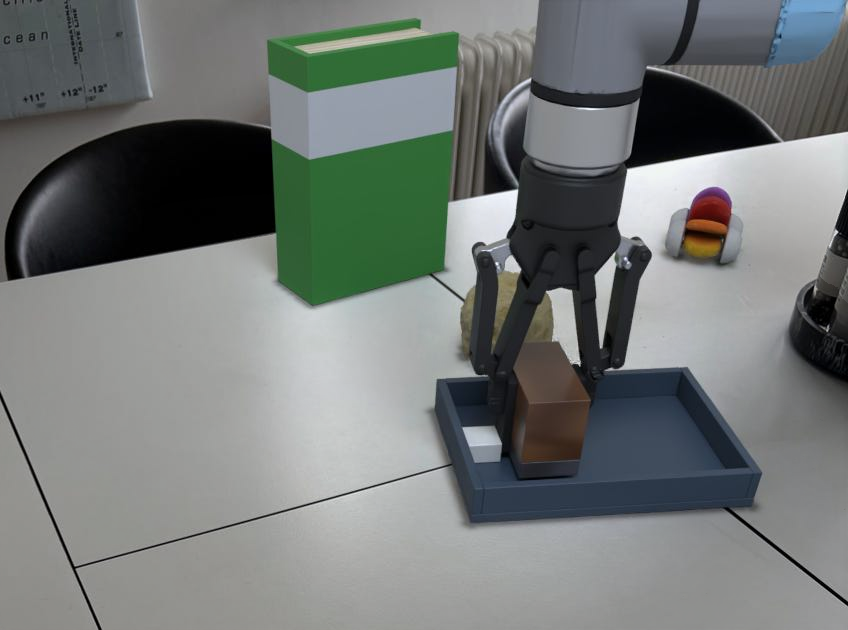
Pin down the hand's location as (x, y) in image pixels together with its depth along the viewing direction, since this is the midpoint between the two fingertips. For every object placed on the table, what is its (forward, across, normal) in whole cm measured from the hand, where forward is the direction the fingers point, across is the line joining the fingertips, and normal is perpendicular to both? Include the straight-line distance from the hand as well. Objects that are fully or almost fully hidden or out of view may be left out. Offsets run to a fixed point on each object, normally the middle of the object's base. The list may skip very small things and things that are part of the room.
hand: (534, 441), depth 89 cm
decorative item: (+2, -2, -19) cm, 19 cm away
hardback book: (+2, +10, -39) cm, 40 cm away
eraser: (0, 0, 0) cm, 0 cm away
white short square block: (+1, +5, 0) cm, 5 cm away
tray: (+2, -5, 0) cm, 5 cm away
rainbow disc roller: (+2, -31, -42) cm, 52 cm away
